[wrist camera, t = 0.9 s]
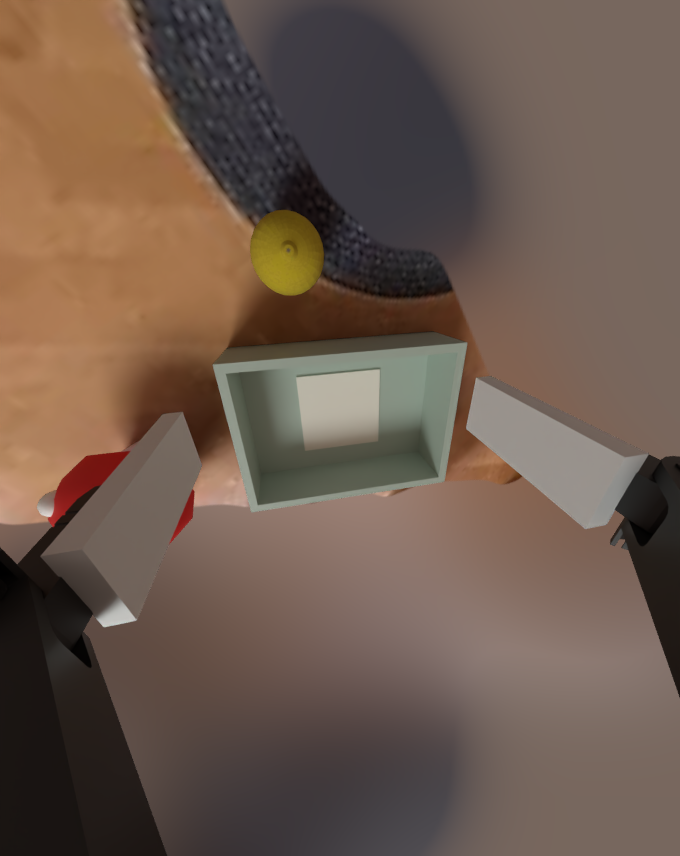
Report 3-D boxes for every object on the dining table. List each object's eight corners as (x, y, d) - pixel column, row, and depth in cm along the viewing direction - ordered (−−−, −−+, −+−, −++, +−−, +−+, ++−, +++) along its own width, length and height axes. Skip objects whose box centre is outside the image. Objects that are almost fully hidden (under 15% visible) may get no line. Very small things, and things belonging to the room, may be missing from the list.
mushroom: (106, 493, 32) (21, 595, 22) (98, 408, 28) (-13, 484, 17) (205, 502, 35) (172, 594, 25) (212, 426, 31) (176, 500, 20)
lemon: (301, 209, 23) (308, 178, 17) (327, 278, 26) (343, 276, 19) (242, 238, 24) (225, 220, 17) (274, 304, 26) (271, 311, 19)
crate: (227, 347, 27) (212, 364, 22) (433, 331, 30) (467, 342, 25) (256, 474, 35) (251, 512, 29) (420, 451, 38) (444, 481, 32)
